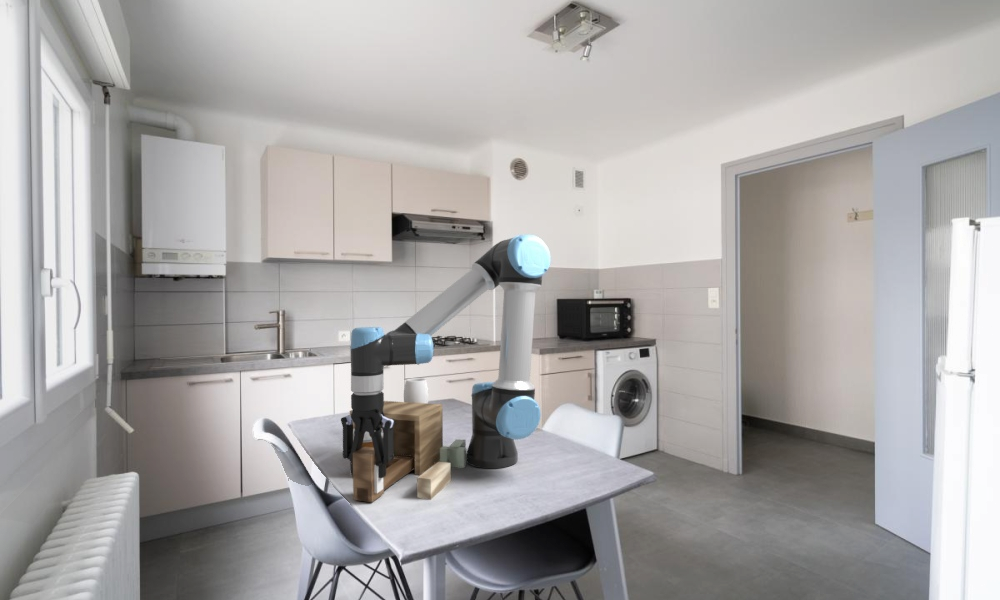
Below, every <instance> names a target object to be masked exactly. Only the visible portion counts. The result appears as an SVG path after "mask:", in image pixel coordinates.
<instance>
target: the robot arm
mask: <svg viewBox="0 0 1000 600" xmlns="http://www.w3.org/2000/svg"><path fill="white" fill-rule="evenodd" d="M551 259H552V258H551V253H550V250H549V246H547V244H546V243H545V242H544V241H543V240H542V239H541V238H540V237H538V236H537V235H533V234H518V235H516V236H514V237H512V238H507V239H504V240H501V241H499V242H497V243H496V244H494V245H493V246H492V247H491V248H490V249H488V251H486V252H485V253H484V254H483V255H481V257H480V258H478V259H477V260H475V262H473V263H472V264H471V268H470V270H469V271H468V272H466V273H465V274H464V275H463V276H461V277H460V278H459V279H457V280H456V281H455V282H453V283H452V284H451V285H450V286H449V287H447V288H446V289H445V290H443V291H442V292H441V293H440V294H439V295H437V296H436V297H435V298H433V299H432V300H431V301H429V303H427V304H426V305H425V306H423V307H422V308H420V310H418V311H416V312H415V313H414V314H413V315H412V316H410V318H408V319H407V320H406V321H404V322H403V323H401V324H400V325H399V326H398V327H397V328H395V329H394V330H390V331H388V332H387V333H386V334H385V332H384V329H383V327H380V326H365V327H364V326H361V327H355V328H353V329H352V330H351V334H350V346H349V347H350V348H349V349H350V372H351V373H350V391H351V392H352V394H351V396H350V408H351V410H353V411H352V413H351V415H350V414H349V415H346V416H343V417H341V418H340V422H341V423H340V424H341V425H342V457H343V459H345V460H348V461H349V465H350V464H351V467H350V474H351V476H353V453H354V452H356V451H358V450H360V449H361V448H362V443H363V439H364V434H365V432H366V431H367V432H369V435H370V437H371V438H372V442H373V447H374V451H375V455H376V460H377V463H376V464H375V465H374V493H378V492H380V491H381V490H383V477H385V476H386V463H388V462H390V461H391V460H393V459H394V446H393V427H394V424H395V419H389V418H387V417H385V415H384V413H383V407H384V401H385V394H384V392H383V390H384V368H385V367H390V366H405V365H410V366H411V365H418V366H420V365H421V364H422V365H423V364H429V363H431V361H433V360H432V359H433V358H434V356H433V355H434V342H433V338H432V335H434V334H435V333H436V332H437V331H439V330H440V329H441V328H442V327H444V326H445V325H446V324H447V323H449V322H450V321H451V320H452V319H453V318H455V317H456V316H457V315H458V314H460V313H461V312H462V311H463V310H465V309H466V308H467V307H469V306H470V305H471V304H472V303H473V302H474V301H476V300H477V299H478V298H479V297H481V296H482V295H483V294H484V293H485V292H487V291H493V290H495V289H496V288H497V287H499V286H500V287H501V288H502V289H503V301H502V316H501V317H502V318H501V333H500V349H499V363H498V377H497V379H496V380H495V381H487V382H477V383H474V384H473V385H472V389H471V395H470V396H471V416H472V417H471V421H472V422H471V423H472V425H471V426H472V427H471V428H472V431H471V432H472V434H471V438H470V441H469V443H468V448H467V449H466V463H467V464H469V465H471V466H473V467H475V468H479V469H480V468H482V469H499V468H501V469H502V468H506V467H510V466H513V465H516V463H517V462H519V461H518V459H519V452H518V449H517V445H516V443H515V441H516V440H517V441H518V440H523V439H526V438H527V437H529V436H531V435H532V434H533V433H534V432H535V431H536V429H538V427H539V425H540V422H541V416H542V413H541V408H540V405H539V404H538V401H536V400H535V398H536V397H535V396H536V387H535V385H534V384H533V383H532V382H531V378H530V377H531V369H532V367H531V366H532V352H533V351H532V350H533V338H534V337H533V336H534V318H535V307H536V294H537V291H538V290H540V289H541V288H542V283H543V275H545V273H547V271H548V270H549V267H550V265H551ZM353 422H354V424H355V425H356V426H355V430H354V434H355V435H354V440H353ZM382 422H383V427H384V430H383V440H382V435H381V432H382V430H381V426H380V425H381V423H382ZM383 441H384V444H383Z"/></svg>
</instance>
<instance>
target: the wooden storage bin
mask: <svg viewBox="0 0 1000 600" xmlns="http://www.w3.org/2000/svg"><path fill="white" fill-rule="evenodd" d="M352 411H353V409H351V410H349V415H351V413H352ZM383 413H384V415H385V417H387V418H389V419H395V424H394V427H393V446H394V455H395V456H404V457H414V459H415V468H414V475H417V476H420V475H422V474H423V473H424V472H425V471H427V470H428V469H429V468H431V467H432V466H433V465H435V464H436V463H437V462H440V448H441V447H442V446H444V445H443V442H444V440H443V438H444V437H443V432H444V431H443V427H444V425H443V421H444V420H443V416H444V415H443V404H441V403H440V404H438V403H410V402H404V401H393V400H392V401H391V400H389V401H388V400H384V407H383ZM355 426H356V425H355V424H354V422H353V429H355ZM380 426H381V428H382V429H383V430H384V427H383V422H382V423H381V425H380ZM382 440H383V438H382ZM383 444H384V441H383ZM349 467H350V468H351V464H350V463H349Z"/></svg>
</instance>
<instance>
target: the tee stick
mask: <svg viewBox="0 0 1000 600" xmlns="http://www.w3.org/2000/svg"><path fill="white" fill-rule="evenodd" d="M466 443H467V441H466V439H461V438H460V439H457V438H456V439H455V440H454V441H453V442H452V443H451V444H450V445H449V446H444V445H443V446H442V447H441V448H440V460H439V462H446V463H451V468H463V469H464V468H465V467H466V466H467V447H466V445H467V444H466Z"/></svg>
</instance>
